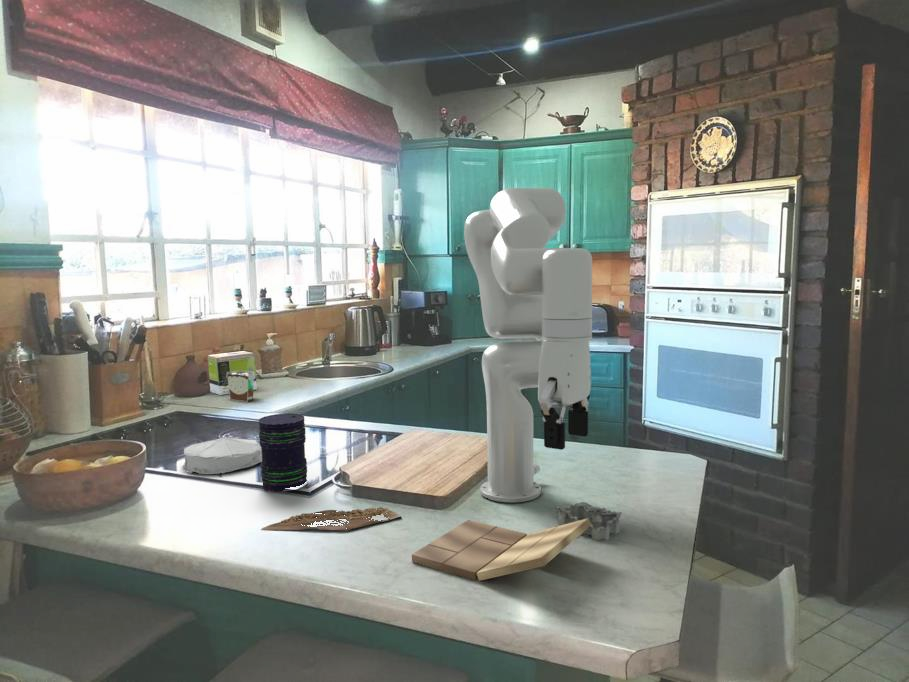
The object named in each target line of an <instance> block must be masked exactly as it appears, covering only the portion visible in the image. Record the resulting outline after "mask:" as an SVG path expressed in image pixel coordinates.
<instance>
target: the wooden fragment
mask: <svg viewBox="0 0 909 682" xmlns="http://www.w3.org/2000/svg"><path fill="white" fill-rule="evenodd" d="M374 508H375V509H374ZM376 508H377V510H376ZM336 511H338V510H336V509H325V510H320V511H315V512H311V513H310V512H309V513H303V512H302V513H301V514H296V515H292V516H290V517H289V518H287V519H283V520H281V521H279V522H275V523H272V524H269V525H266V526H264V527H262V528H261V529H260V530H261V531H270V530H271V531H274V530H275V531H276V530H279V531H280V530H281V531H282V530H283V531H285V530H286V531H289V530H290V531H296V530H297V531H298V530H299V531H300V530H321V531H324V530H325V531H343V532H348V531H351V530H352V529H357V528H361V527H365V526H370V525H373V524H374V525H375V524H378V523H382V522H386V521H388V520H384V521H383V520H381V521H378V520H375V521H374V519H372V520H371V518H372V516H376V515H381V514H383V515H384V517H386V518H388V517H389V518H388V519H390V520H394V519H396V518H400V517H402V516H401V515H400V514H398V513H396V512H395V511H392V510H390V509H389V508H387V507H383V506H382V507H381V506H379V507H372V508H371V507H370V508H369V507H368V508H365V509H364V510H363V509H352V510H351V511H350V510H347V511H344V510H339V511H338V512H336ZM313 513H314V514H313ZM315 513H322V514H315ZM386 513H387V514H386ZM324 514H325V515H324ZM344 515H345V516H344ZM316 517H317V518H316ZM368 517H370V518H368ZM366 518H367V519H366ZM339 519H346V520H347V521H349V523H348V522H347V521H346V522H344V521H342V520H339ZM326 520H334V521H336V522H339V523H341V522H340V521H342V522H344V523H345V524H344V523H341V524H343V526H342V525H341V526H340V525H338V526H335V525H334V526H333V525H331V524H338V523H330V525H327V526H326V525H325V526H317V527H310V526H309V527H308V526H307V525H311V523H312V525H313V523H314V522H315V521H316V522H320V521H322V522H324V521H326ZM337 520H338V521H337ZM369 520H370V521H369ZM390 520H389V521H390ZM334 521H332V522H334ZM324 523H326V522H324ZM328 523H329V522H328ZM347 523H348V524H347ZM301 524H302V525H303V526H302V525H301ZM326 524H327V523H326ZM304 525H305V526H304ZM316 525H317V524H316ZM318 525H319V524H318ZM320 525H323V524H320ZM346 528H347V529H346Z"/></svg>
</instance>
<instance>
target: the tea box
mask: <svg viewBox="0 0 909 682" xmlns="http://www.w3.org/2000/svg"><path fill="white" fill-rule="evenodd" d="M207 365H208V378H209V388H210V389H209V390H210V393H213V394H216V395H217V396H218V395H219V396H223V395H229V387H228V379H227V378H226V374H227V372H231V371H252V372H254V374H255V379H254V382H253V391H255V390H258V383H257V382H258V381H257V368H256V358H255V352H250V351H245V350H241V351H233V352H223V353H217V354H208V355H207Z"/></svg>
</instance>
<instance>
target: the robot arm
mask: <svg viewBox="0 0 909 682" xmlns="http://www.w3.org/2000/svg"><path fill="white" fill-rule="evenodd" d="M489 205H490V206H489V209H482V210H478V211H475V212H472V213H470V214H469V216H468V217H467V218H466V220H465V222H464V228H463V229H464V230H463V233H464V234H463V235H464V244H465V249H466V253H467V256H468V259H469V261H470V263H471V266H472V268H473V270H474V272H475V275H476V278H477V281H478V288H479V297H480V298H479V299H480V306H481V311H482V312H481V313H482V320H483V325H484V330H485V332H486V333H487V334H488V336H489V337H491V338H495V339H502V340H503V339H505V340H507V339H508V340H509V339H530V338H531V339H535V340H533V341H530V340H529V341H525V340H523V341H505V342H504V341H503V342H498V343H493V344H492V345H490V346H488V347H486V349H484V351H483V354H482V357H481V369H482V370H481V371H482V376H483V381H484V389H485V398H486V399H485V400H486V435H487V438H486V440H487V441H486V445H487V447H486V448H487V449H486V451H487V481H485V482H484V483H482V484H481V485H480V495H481V496H483V497H484V498H485V499H487V498H488V500H490V501H494V502H497V503H498V502H499V503H510V504H513V503H524V502H529V501H532V500H535V499H537V498H538V497H540V496H541V494H542V487H541V485H540V484H539V483H537V482H535V481H534V476H535V475H536V474H538V473H540V471H541V468H540V465H538V464H534V411H533V408H532V405H531V403H530V401H528V399H527V398H526V397H525V396H524V395H523V394H522V391H521V390H525V389H531V388H532V389H533V388H537V400H538V403H539V406H540V408H541V409H540V412H541V415H542V422H543V445H544V447H545V448H546V449H552V450H553V449H555V450H562V451H563V450H565V448H566V422H563V421H564V417H565V414H566V409H567V407H570V409H568V411H567V413H568V418H567V419H568V420H567V421H568V422H567V425H568V428H567V432H568V434H569V435H572V436H578V437H587V436H588V434H589V409H590V404H589V400H590V398H591V397H590V396H591V394H590V393H591V387H592V379H591V378H592V370H591V369H592V368H591V367H592V366H591V364H592V363H591V351H590V350H591V349H590V348H591V347H590V341H592V339H593V257H592V254H591V252H590V251H589V250H588V249H585V248H580V247H578V248H577V247H575V248H574V247H573V248H572V247H571V248H569V247H558V248H557V247H553V248H552V247H550V248H548V247H546V246H547V244H548V243H549V242H550V241H551V239H553V238H554V237H555V236H556V234H558V232H559V231H560V230H561V228H562V227H563V225H564V223H565V220H566V215H567V211H566V210H567V209H566V203H565V200H564V197H563V196H562V195H561V193H560V192H559V191H558V190H556V189H554V188H551V187H509V188H506V189H502V190H501V191H498V192H497V193H496V194H494V196H493V197H492V198H491V201H490V204H489ZM556 409H558V411H556Z"/></svg>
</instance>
